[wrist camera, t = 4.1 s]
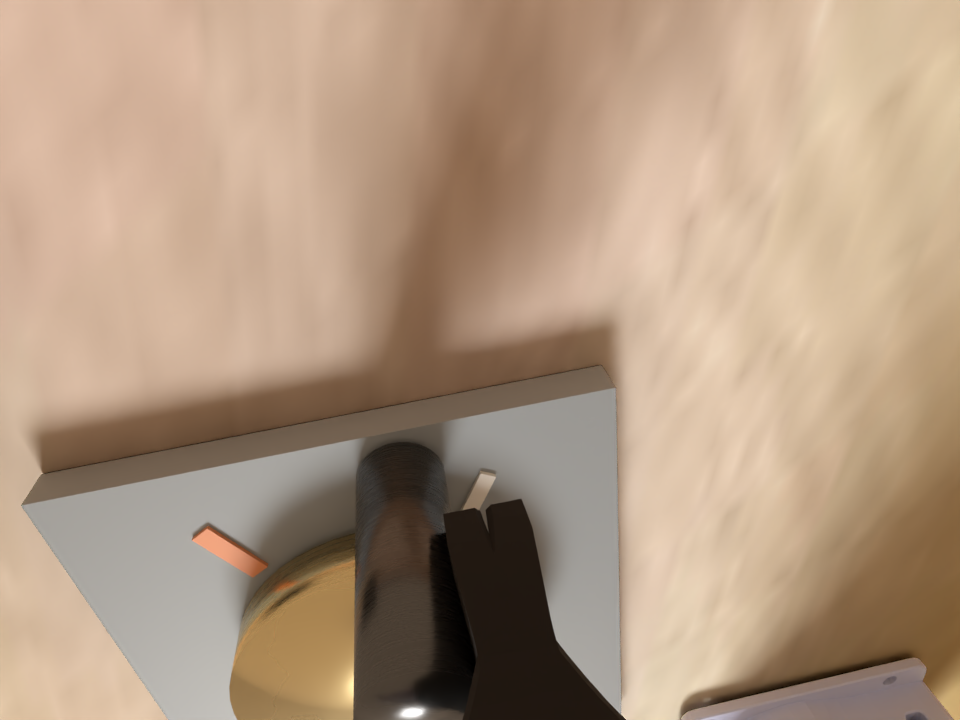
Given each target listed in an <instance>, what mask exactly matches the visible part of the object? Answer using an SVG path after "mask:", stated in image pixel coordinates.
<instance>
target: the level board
mask: <svg viewBox="0 0 960 720" xmlns="http://www.w3.org/2000/svg"><path fill="white" fill-rule="evenodd" d="M396 442H411V443H416V444H420V445H423V446H425V447H427V448H429V449H431V450H432V451H433V452H434V453H436V454H437V455H438V457H439V458H440V459H441V461H442V463H443V466H444V470H445V476H446V482H447V488H448V494H449V499H450V505H451V511H452V512H455V511H461V510H466V509H471V508H476V509H478V510H479V511H481V514H482V517H483V520H484V523H485V525H486V527H487V530H488V524H487V517H486V509H487V508H488V507H489V506H490V505H491V504H496V503H502V502H507V501H512V500H517V499H522V501H523V504H524V506H525V509H526V512H527V514H528V517H529V520H530V522H531V525H532V528H533V532H534V537H535V542H536V547H537V552H538V557H539V562H540V567H541V572H542V577H543V582H544V587H545V592H546V597H547V602H548V607H549V612H550V617H551V621H552V625H553V629H554V633H555V637H556V640H557V642H558V643H559V644H560V646H561V647H562V648H563V649H564V651H565V652H566V653H567V654H568V656H569V657H570V658H571V659H572V661H573V662H574V663H575V664H576V665H577V666H578V668H579V669H580V670H581V671H582V672H583V674H584V675H585V676H586V677H587V678H588V679H589V681H590V682H591V683H592V684H593V685H594V686H595V687H596V688H597V690H598V691H599V692H600V693H601V694H602V695H603V696H604V697H605V699H606V700H607V701H608V702H609V703H610V704H611V705H612V706H613V707H614V708H615V709H616V710H617V711H618V712H619V713H620V714H621V667H620V606H619V546H618V486H617V425H616V387H615V385H614V384H613V382H612V381H611V379H610V378H609V376H608V374H607V373H606V371H605V370H604V368H603V366H602V365H599V366H594V367H589V368H584V369H579V370H574V371H569V372H564V373H558V374H553V375H548V376H543V377H538V378H533V379H528V380H523V381H518V382H512V383H507V384H502V385H497V386H492V387H487V388H482V389H477V390H471V391H466V392H461V393H456V394H451V395H446V396H441V397H436V398H430V399H425V400H420V401H415V402H410V403H405V404H400V405H395V406H390V407H384V408H379V409H374V410H369V411H364V412H359V413H354V414H349V415H343V416H338V417H333V418H328V419H323V420H318V421H313V422H308V423H303V424H297V425H292V426H287V427H282V428H277V429H272V430H267V431H262V432H256V433H251V434H246V435H241V436H236V437H231V438H226V439H221V440H215V441H210V442H205V443H200V444H195V445H190V446H185V447H180V448H175V449H169V450H164V451H159V452H154V453H149V454H144V455H139V456H134V457H128V458H123V459H118V460H113V461H108V462H103V463H98V464H93V465H88V466H82V467H77V468H72V469H67V470H62V471H57V472H52V473H47V474H41V476H40V477H39V479H38V480H37V482H36V483H35V485H34V486H33V488H32V490H31V491H30V493H29V494H28V496H27V497H26V499H25V500H24V502H23V503H22V505H21V506H22V508H23V509H24V511H25V512H26V513H27V515H28V516H29V518H30V519H31V521H32V522H33V524H34V525H35V527H36V528H37V529H38V531H39V532H40V534H41V535H42V537H43V538H44V540H45V541H46V543H47V544H48V546H49V547H50V548H51V550H52V551H53V553H54V554H55V556H56V557H57V559H58V560H59V562H60V563H61V564H62V566H63V567H64V569H65V570H66V572H67V573H68V575H69V576H70V578H71V579H72V580H73V582H74V583H75V585H76V586H77V588H78V589H79V591H80V592H81V594H82V595H83V596H84V598H85V599H86V601H87V602H88V604H89V605H90V607H91V608H92V610H93V611H94V613H95V614H96V615H97V617H98V618H99V620H100V621H101V623H102V624H103V626H104V627H105V629H106V630H107V631H108V633H109V634H110V636H111V637H112V639H113V640H114V642H115V643H116V645H117V646H118V647H119V649H120V650H121V652H122V653H123V655H124V656H125V658H126V659H127V661H128V662H129V664H130V665H131V666H132V668H133V669H134V671H135V672H136V674H137V675H138V677H139V678H140V680H141V681H142V682H143V684H144V685H145V687H146V688H147V690H148V691H149V693H150V694H151V696H152V697H153V698H154V700H155V701H156V703H157V704H158V706H159V707H160V709H161V710H162V712H163V713H164V714H165V716H166V717H167V719H168V720H237V718H236V716H235V715H234V712H233V709H232V706H231V702H230V692H229V685H230V679H231V673H232V667H233V662H234V657H235V651H236V646H237V641H238V635H239V630H240V625H241V621H242V618H243V615H244V612H245V610H246V607H247V606H248V604H249V602H250V601H251V599H252V597H253V596H254V594H255V593H256V592H257V590H258V589H259V588H260V587H261V586H262V584H263V583H264V582H265V581H266V580H267V579H268V578H269V577H270V576H271V575H273V574H274V573H275V572H276V571H277V570H278V569H279V568H281V567H282V566H283V565H285V564H286V563H288V562H289V561H291V560H292V559H294V558H295V557H297V556H299V555H300V554H302V553H304V552H306V551H308V550H310V549H312V548H313V547H316V546H318V545H321V544H323V543H326V542H328V541H330V540H333V539H336V538H339V537H343V536H346V535H349V534H353V533H355V505H356V473H357V469H358V467H359V465H360V463H361V462H362V460H363V459H364V458H365V457H366V456H367V455H368V454H369V453H371V452H372V451H373V450H375V449H377V448H379V447H381V446H384V445H387V444H390V443H396ZM488 532H489V531H488Z"/></svg>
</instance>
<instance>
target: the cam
mask: <svg viewBox="0 0 960 720" xmlns="http://www.w3.org/2000/svg"><path fill="white" fill-rule="evenodd" d="M450 512H452V511H451V505H450V499H449V494H448V488H447V482H446V476H445V470H444V466H443V463H442V461H441V459H440V458H439V457H438V455H437V454H436V453H434V452H433V451H432V450H431V449H429V448H427V447H425V446H423V445H420V444H416V443H411V442H396V443H390V444H387V445H384V446H381V447H379V448H377V449H375V450H373V451H372V452H371V453H369V454H368V455H367V456H366V457H365V458H364V459H363V460H362V462H361V463H360V465H359V467H358V469H357V473H356V505H355V533H353V534H349V535H346V536H343V537H339V538H336V539H333V540H330V541H328V542H326V543H323V544H321V545H318V546H316V547H313V548H312V549H310V550H308V551H306V552H304V553H302V554H300V555H299V556H297V557H295V558H294V559H292V560H291V561H289V562H288V563H286V564H285V565H283V566H282V567H281V568H279V569H278V570H277V571H276V572H275V573H274V574H273V575H271V576H270V577H269V578H268V579H267V580H266V581H265V582H264V583H263V584H262V586H261V587H260V588H259V589H258V590H257V592H256V593H255V594H254V596H253V597H252V599H251V601H250V602H249V604H248V606H247V607H246V610H245V612H244V615H243V618H242V621H241V625H240V630H239V635H238V641H237V646H236V651H235V657H234V662H233V667H232V673H231V679H230V685H229V692H230V702H231V706H232V709H233V712H234V715H235V716H236V718H237V720H463V716H464V712H465V709H466V705H467V701H468V697H469V692H470V688H471V683H472V679H473V675H474V670H475V665H476V661H475V657H474V653H473V649H472V645H471V641H470V637H469V633H468V629H467V625H466V622H465V618H464V614H463V610H462V606H461V602H460V598H459V595H458V591H457V587H456V583H455V579H454V576H453V571H452V566H451V561H450V556H449V551H448V546H447V539H446V532H445V524H444V517H443V514H445V513H450Z"/></svg>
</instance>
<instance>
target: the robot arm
mask: <svg viewBox="0 0 960 720" xmlns="http://www.w3.org/2000/svg"><path fill="white" fill-rule="evenodd" d="M443 517H444V524H445V532H446V539H447V546H448V551H449V556H450V561H451V566H452V571H453V576H454V579H455V583H456V587H457V591H458V595H459V598H460V602H461V606H462V610H463V614H464V618H465V622H466V625H467V629H468V633H469V637H470V641H471V645H472V649H473V653H474V657H475V661H476V665H475V670H474V675H473V679H472V683H471V688H470V692H469V697H468V701H467V705H466V709H465V712H464V716H463V720H626V719H625V718H624V717H623V716H622V715H621V714H620V713H619V712H618V711H617V710H616V709H615V708H614V707H613V706H612V705H611V704H610V703H609V702H608V701H607V700H606V699H605V697H604V696H603V695H602V694H601V693H600V692H599V691H598V690H597V688H596V687H595V686H594V685H593V684H592V683H591V682H590V681H589V679H588V678H587V677H586V676H585V675H584V674H583V672H582V671H581V670H580V669H579V668H578V666H577V665H576V664H575V663H574V662H573V661H572V659H571V658H570V657H569V656H568V654H567V653H566V652H565V651H564V649H563V648H562V647H561V646H560V644H559V643H558V642H557V640H556V637H555V633H554V629H553V625H552V621H551V617H550V612H549V607H548V602H547V597H546V592H545V587H544V582H543V577H542V572H541V567H540V562H539V557H538V552H537V547H536V542H535V537H534V532H533V528H532V525H531V522H530V520H529V517H528V514H527V512H526V509H525V506H524V504H523V501H522V499H517V500H512V501H507V502H502V503H496V504H491V505H490V506H489V507H488V508H487V509H486V517H487V524H488V530H487V527H486V525H485V523H484V520H483V517H482V514H481V511H479V510H478V509H476V508H471V509H466V510H461V511H455V512H450V513H445V514H443ZM488 531H489V532H488ZM926 669H927V668H926V667H925V665H924V664H923V663H922V662H921V660H920V659H918V658H908V659H904V660H899V661H895V662H891V663H887V664H883V665H878V666H874V667H870V668H866V669H861V670H857V671H853V672H849V673H845V674H840V675H836V676H832V677H828V678H824V679H819V680H815V681H811V682H807V683H802V684H798V685H794V686H790V687H786V688H781V689H777V690H773V691H769V692H765V693H760V694H756V695H752V696H748V697H744V698H739V699H735V700H731V701H727V702H722V703H718V704H714V705H710V706H706V707H701V708H697V709H693V710H690V711H688V712H686V713H685V714H684V715H683V716H682V718H681V720H954V719H953V718H952V717H951V715H950V714H949V713H948V712H947V710H946V709H945V708H944V707H943V705H942V704H941V703H940V702H939V700H938V699H937V698H936V697H935V695H934V694H933V693H932V692H931V690H930V689H929V688H928V687H927V685H926V684H925V683H924V682H923V679H924V676H925V674H926Z"/></svg>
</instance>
